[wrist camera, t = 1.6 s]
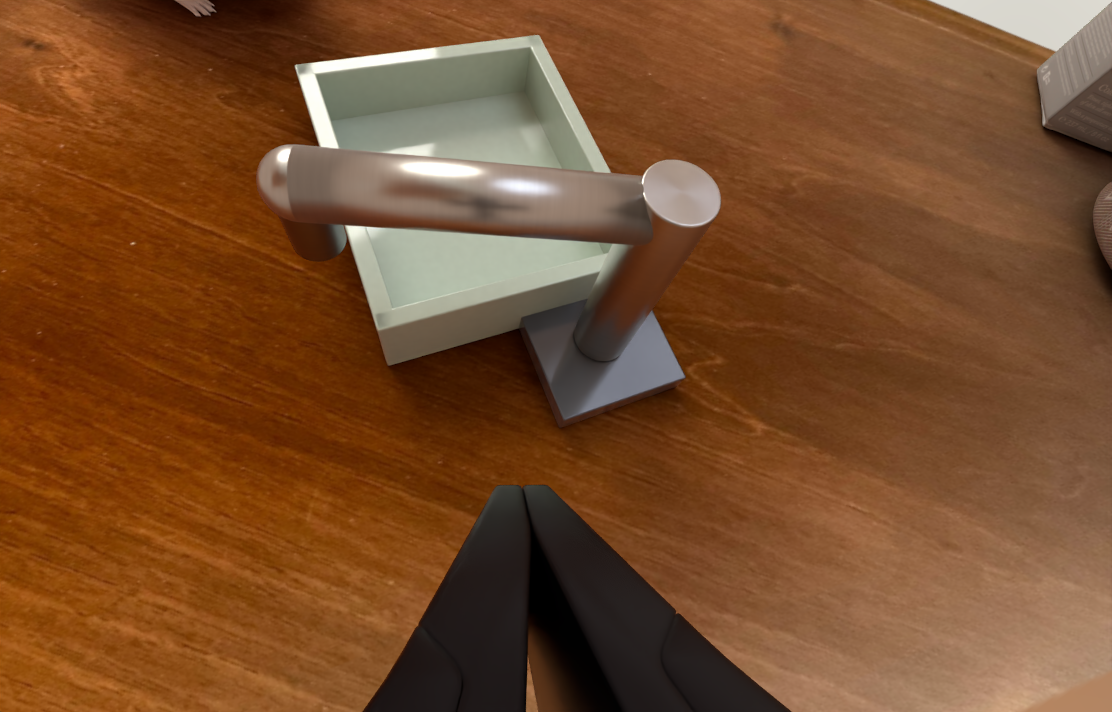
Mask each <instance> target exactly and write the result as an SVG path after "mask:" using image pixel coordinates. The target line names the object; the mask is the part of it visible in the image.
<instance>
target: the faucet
mask: <svg viewBox="0 0 1112 712" xmlns="http://www.w3.org/2000/svg"><path fill="white" fill-rule="evenodd" d="M256 182H257V188H258V191H259V194H260V196H261V198H262V200H263V201H264V202H265V204H266V205H267V206H268V207H269V208H270V209H271V210H272V211H273V212H274V213H276V214H277V215H278V216H279V218H280V220H281V222H282V225H283V227H284V229H285V231H286V233H287V235H288V238H289V240H290V242H291V244H292V246H293V248H294V250H295V251H296V253H297V254H298V255H300V256H301V257H303V258H305V259H307V260H310V261H318V262H320V261H327V260H330V259H332V258H334V257H336V256H337V255H339V254H340V253H341V252H342V250H343V249H344V247H345V244H346V239H347V238H346V233H345V230H344V226H343V225H347V226H362V227H376V228H391V229H405V230H420V231H434V232H449V233H463V234H478V235H492V236H507V237H521V238H536V239H550V240H565V241H579V242H594V243H608V244H612V246H611V248H610V250H609V253H608V255H607V257H606V259H605V262H604V264H603V266H602V268H601V271H600V273H599V275H598V277H597V279H596V282H595V284H594V286H593V288H592V291H591V293H590V295H589V297H588V300H587V302H586V304H585V306H584V309H583V311H582V313H581V315H580V317H579V320H578V322H577V324H576V327H575V331H574V337H575V342H576V344H577V346H578V348H579V349H580V350H581V352H582V353H583V354H585V355H586V356H587V357H589V358H591V359H594V360H597V361H610V360H613V359H615V358H617V357H619V356H620V355H621V354H622V353H623V351H624V350H625V348H626V347H627V346H628V344H629V343H630V341H631V340H632V338H633V337H634V335H635V334H636V332H637V331H638V330H639V328H640V327H641V325H642V324H643V322H644V321H645V319H646V318H647V316H648V315H649V314H650V312H651V311H652V309H653V308H654V306H655V305H656V303H657V302H658V300H659V299H660V298H661V296H662V295H663V293H664V292H665V290H666V289H667V287H668V286H669V285H670V283H671V282H672V280H673V279H674V277H675V276H676V274H677V273H678V271H679V270H680V269H681V267H682V266H683V264H684V263H685V261H686V260H687V258H688V257H689V255H690V254H691V253H692V251H693V250H694V248H695V247H696V245H697V244H698V242H699V241H700V239H701V238H702V237H703V235H704V234H705V232H706V231H707V229H708V228H709V226H710V225H711V224H712V222H713V221H714V219H715V218H716V216H717V215H718V213H719V210H720V207H721V195H720V192H719V189H718V187H717V185H716V183H715V182H714V180H713V179H712V178H711V177H710V176H709V175H708V174H707V173H706V172H705V171H704V170H702V169H701V168H699V167H697V166H696V165H693V164H691V163H688V162H685V161H681V160H664V161H660V162H657V163H655V164H654V165H652V166H651V167H649V168H648V169H647V170H646V172H645V173H644V175H643V176H637V175H626V174H615V173H604V172H593V171H582V170H571V169H560V168H549V167H538V166H527V165H516V164H505V163H494V162H483V161H472V160H461V159H450V158H439V157H428V156H417V155H406V154H395V153H384V152H373V151H362V150H351V149H340V148H329V147H318V146H307V145H296V144H291V145H283V146H279V147H277V148H275V149H273V150H271V151H270V152H269V153H267V154H266V155H265V156H264V158H263V159H262V160H261V162H260V164H259V167H258V169H257V174H256Z"/></svg>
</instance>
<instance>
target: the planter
mask: <svg viewBox="0 0 1112 712" xmlns="http://www.w3.org/2000/svg"><path fill="white" fill-rule="evenodd" d="M1093 226H1094V231H1095V235H1096V239H1097V242H1098V244H1099V247H1100V249H1101V251H1102V254H1103V256H1104V258H1105V259H1106V261H1107V263H1108V265H1109V266H1110V268H1111V269H1112V182H1110V183H1109V184H1108V185H1107V186H1105V187H1104V188H1103V190H1102V191H1101V192H1100V193H1099V195H1098V197H1097V199H1096V201H1095V204H1094V208H1093Z"/></svg>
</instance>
